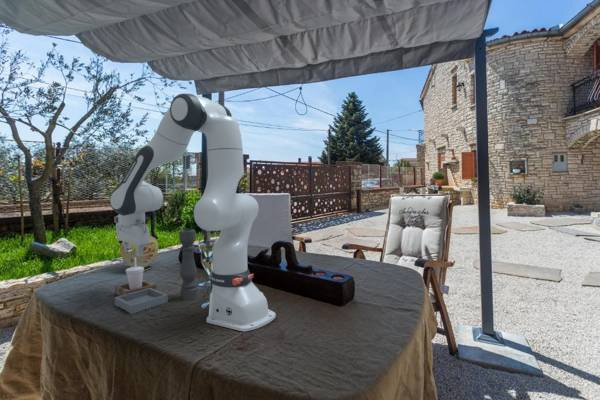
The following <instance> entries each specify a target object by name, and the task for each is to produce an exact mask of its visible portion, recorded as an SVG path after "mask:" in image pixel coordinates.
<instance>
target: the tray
mask: <svg viewBox="0 0 600 400" xmlns="http://www.w3.org/2000/svg"><path fill="white" fill-rule="evenodd" d="M168 296H169V295H168V294H167V293H164V292H162V291H159V290H157V289H156V290H155V289H152V288H147V289H144V290H140V291H136V292H133V293H129V294H126V295H122V296H118V295H117V296H115V297H114V306H115V307H118V308H119V307H120V309H121V308H122V309H121V310H123V309H124V311H125V310H126V311H125V312H127V313H129V314H131V315H134V314H137V313H139V311H140V312H143V311H145V309H146V310H149V309H151V307H152V308H154V306H155V307H158V306H161V305H164V304H168V302H169V297H168ZM157 305H158V306H157ZM148 308H149V309H148ZM142 310H143V311H142ZM136 312H137V313H136ZM133 313H134V314H133Z"/></svg>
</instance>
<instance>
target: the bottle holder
mask: <svg viewBox="0 0 600 400" xmlns="http://www.w3.org/2000/svg"><path fill="white" fill-rule="evenodd" d="M147 288H152V289H155V290H157V284H156V283H154V282H151V281H149V280H145V279H143V278H142V287H140V288H137V289H133V290H130V288H129V282H127V283H124V284H123V283H122V284H120V285H115V286H114V294H115V295H116V294H117V295H116V296H118V295H119V296H122V295H126V294H129V293H133V292H136V291H140V290H144V289H147Z"/></svg>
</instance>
